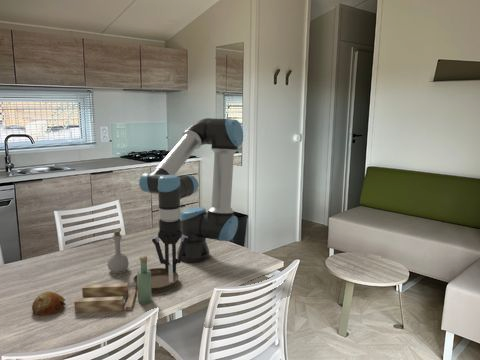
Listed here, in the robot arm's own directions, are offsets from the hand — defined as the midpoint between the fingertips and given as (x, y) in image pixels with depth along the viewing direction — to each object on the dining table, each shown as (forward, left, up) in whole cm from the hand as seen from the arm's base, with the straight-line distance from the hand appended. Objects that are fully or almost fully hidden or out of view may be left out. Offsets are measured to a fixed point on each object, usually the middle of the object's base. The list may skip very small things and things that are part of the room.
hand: (171, 280), depth 150 cm
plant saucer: (+7, -14, -8) cm, 17 cm away
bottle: (+10, 0, -7) cm, 12 cm away
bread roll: (+42, +3, -8) cm, 43 cm away
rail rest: (+23, 0, -7) cm, 24 cm away
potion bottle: (+24, -28, -8) cm, 37 cm away
